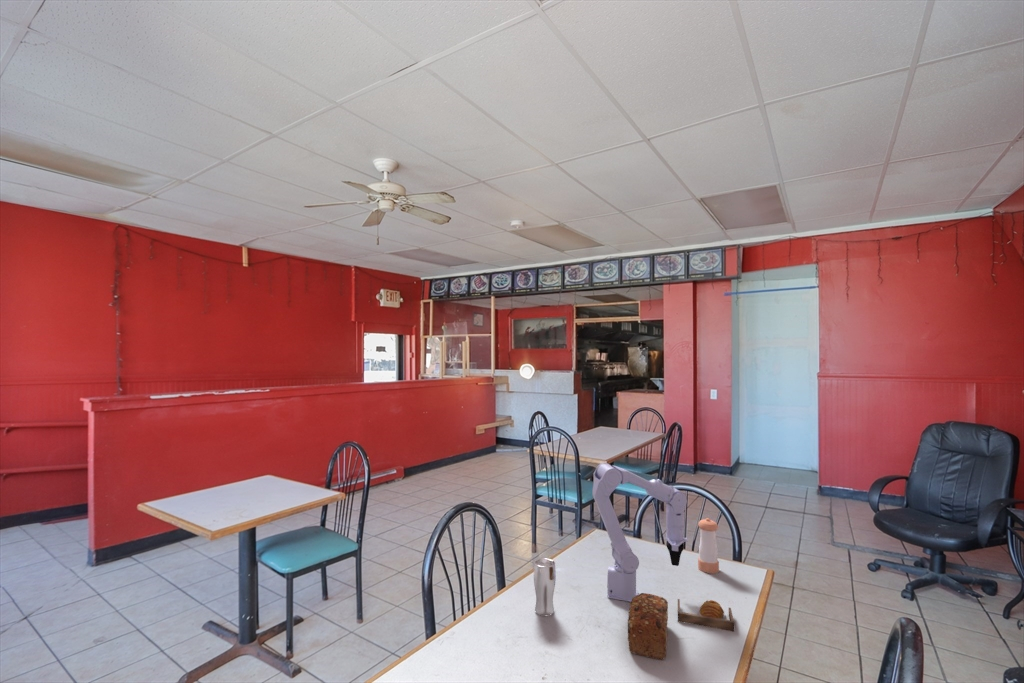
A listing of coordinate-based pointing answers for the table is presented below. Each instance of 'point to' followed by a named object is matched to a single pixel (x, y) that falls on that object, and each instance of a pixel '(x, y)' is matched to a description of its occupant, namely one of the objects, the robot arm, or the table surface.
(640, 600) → the bread
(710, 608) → the pastry
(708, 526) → the pepper shaker
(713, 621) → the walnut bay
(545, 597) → the beer glass
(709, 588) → the table surface
